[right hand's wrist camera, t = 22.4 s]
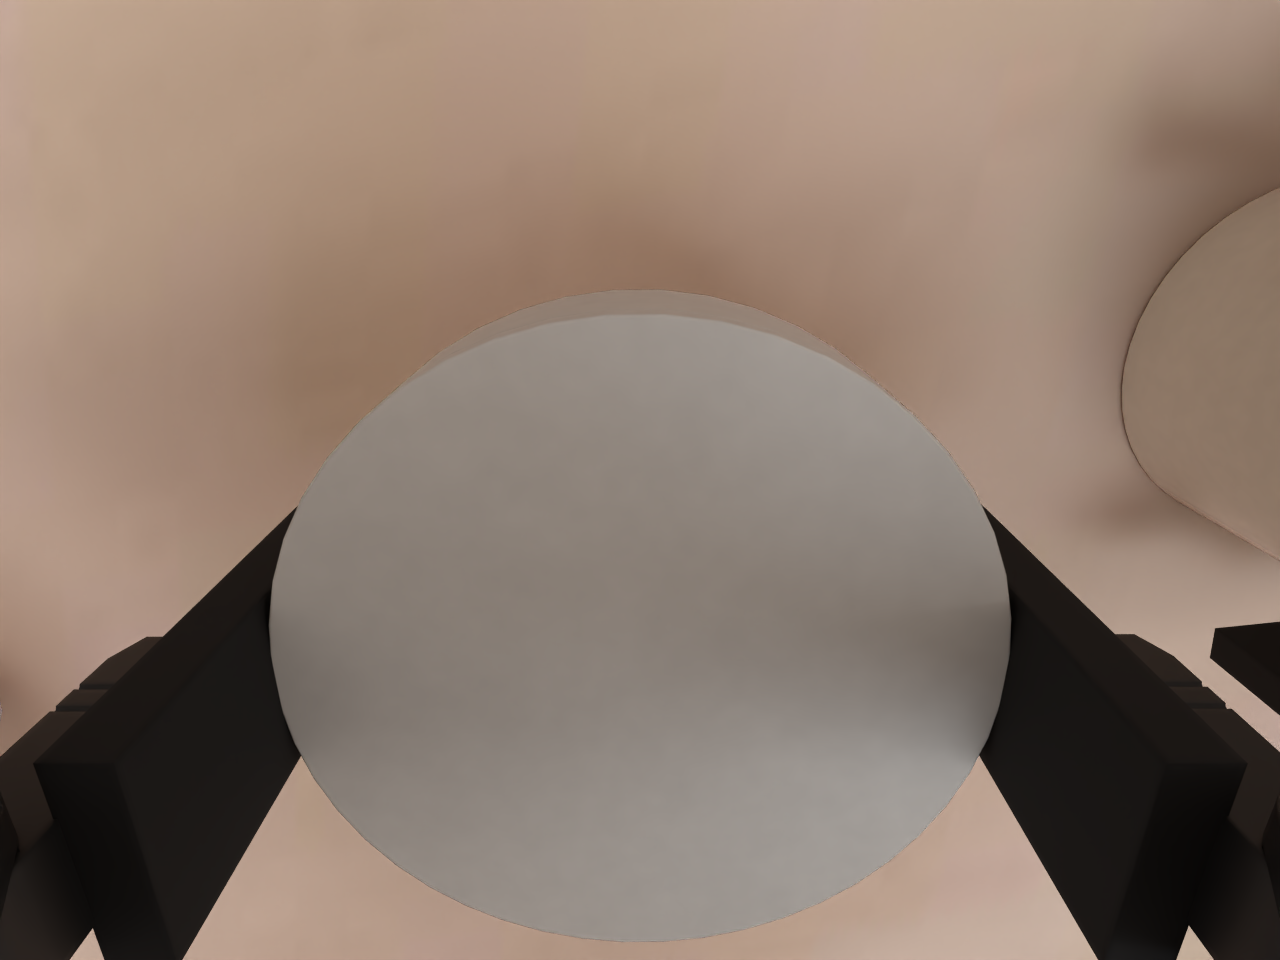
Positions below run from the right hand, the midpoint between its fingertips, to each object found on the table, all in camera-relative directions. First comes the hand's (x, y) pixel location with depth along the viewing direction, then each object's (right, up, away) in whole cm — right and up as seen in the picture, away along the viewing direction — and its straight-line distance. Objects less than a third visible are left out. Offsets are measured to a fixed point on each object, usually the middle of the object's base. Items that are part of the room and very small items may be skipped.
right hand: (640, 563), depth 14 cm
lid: (0, -1, -3) cm, 3 cm away
